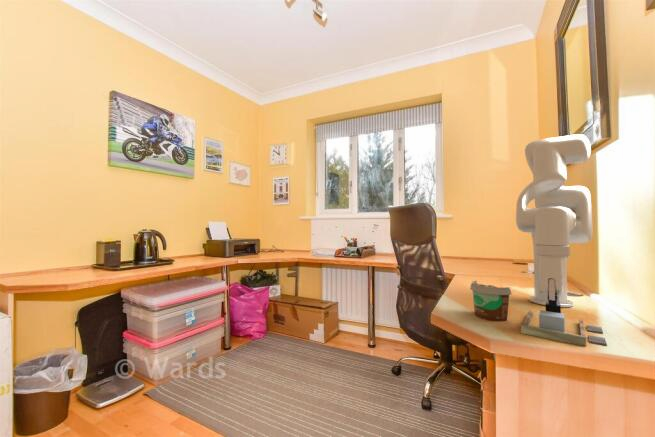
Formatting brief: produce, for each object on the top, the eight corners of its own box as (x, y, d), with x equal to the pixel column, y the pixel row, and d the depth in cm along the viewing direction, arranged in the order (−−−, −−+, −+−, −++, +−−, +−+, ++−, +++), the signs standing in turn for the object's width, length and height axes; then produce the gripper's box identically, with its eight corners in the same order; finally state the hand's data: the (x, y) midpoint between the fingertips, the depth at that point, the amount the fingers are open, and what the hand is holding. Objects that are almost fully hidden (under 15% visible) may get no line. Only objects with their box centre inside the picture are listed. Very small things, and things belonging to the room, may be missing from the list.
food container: (461, 313, 93) (461, 281, 93) (475, 310, 95) (474, 280, 96) (497, 325, 82) (496, 289, 82) (511, 322, 84) (511, 287, 84)
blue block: (541, 328, 79) (540, 310, 79) (565, 333, 75) (564, 313, 76) (539, 333, 75) (539, 314, 75) (564, 338, 72) (563, 318, 72)
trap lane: (529, 315, 91) (529, 308, 91) (600, 326, 80) (600, 319, 80) (521, 333, 75) (521, 325, 75) (608, 350, 65) (608, 341, 65)
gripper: (537, 249, 87) (538, 310, 87) (532, 252, 76) (533, 323, 75) (569, 250, 82) (571, 315, 82) (570, 254, 71) (571, 329, 70)
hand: (553, 319), depth 79 cm, fingers closed
